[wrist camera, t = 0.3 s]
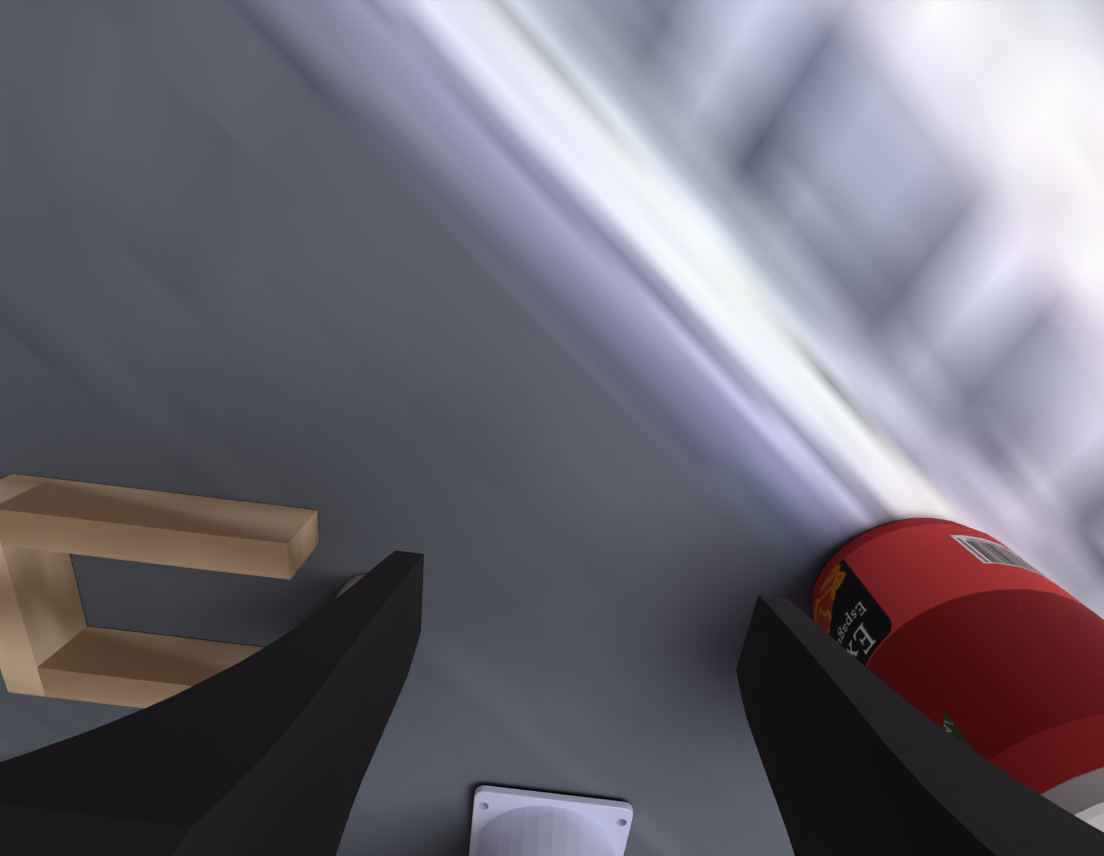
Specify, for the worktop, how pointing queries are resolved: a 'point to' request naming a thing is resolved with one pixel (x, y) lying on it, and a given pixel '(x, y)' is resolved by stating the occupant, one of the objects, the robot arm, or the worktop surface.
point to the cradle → (135, 535)
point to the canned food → (977, 650)
